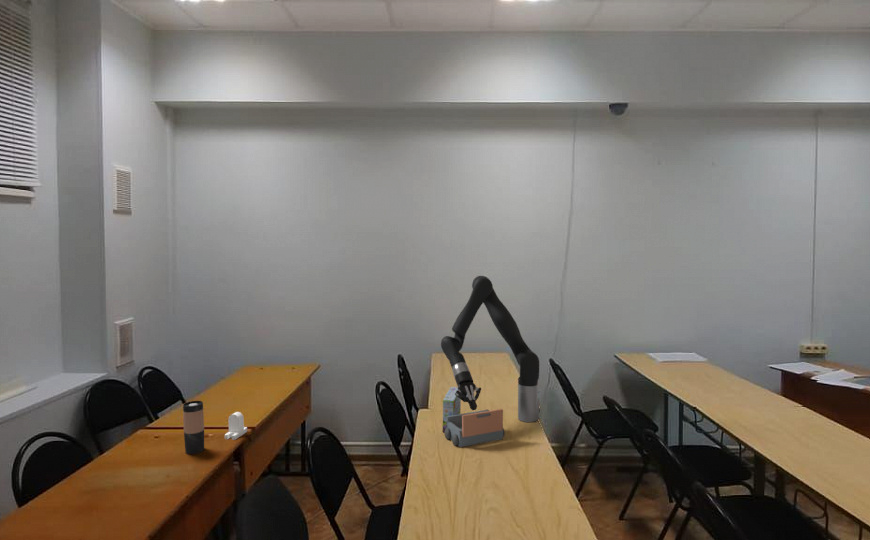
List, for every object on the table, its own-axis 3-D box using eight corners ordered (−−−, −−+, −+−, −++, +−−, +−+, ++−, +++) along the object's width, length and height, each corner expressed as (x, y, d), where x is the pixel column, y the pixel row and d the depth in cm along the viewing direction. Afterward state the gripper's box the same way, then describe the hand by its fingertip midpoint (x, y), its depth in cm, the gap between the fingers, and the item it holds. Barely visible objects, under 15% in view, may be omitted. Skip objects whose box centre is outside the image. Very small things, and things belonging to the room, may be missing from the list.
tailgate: (501, 429, 223) (501, 408, 222) (503, 430, 221) (503, 410, 221) (462, 436, 215) (462, 415, 215) (464, 437, 214) (464, 416, 213)
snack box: (454, 433, 231) (454, 400, 230) (442, 432, 232) (441, 399, 231) (461, 417, 252) (461, 386, 251) (450, 416, 253) (449, 386, 252)
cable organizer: (247, 431, 235) (247, 410, 235) (235, 439, 226) (234, 417, 225) (237, 430, 236) (236, 409, 236) (224, 439, 227) (223, 416, 226)
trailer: (490, 428, 236) (490, 409, 236) (505, 438, 225) (505, 418, 224) (444, 436, 227) (443, 416, 227) (456, 447, 215) (456, 426, 215)
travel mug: (209, 448, 217) (207, 401, 215) (195, 455, 210) (193, 407, 208) (194, 445, 219) (192, 399, 218) (180, 453, 212) (178, 405, 211)
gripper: (451, 371, 230) (463, 407, 219) (477, 368, 235) (490, 403, 224) (446, 380, 235) (458, 415, 224) (472, 377, 240) (485, 411, 230)
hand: (474, 409), depth 225 cm, fingers closed
